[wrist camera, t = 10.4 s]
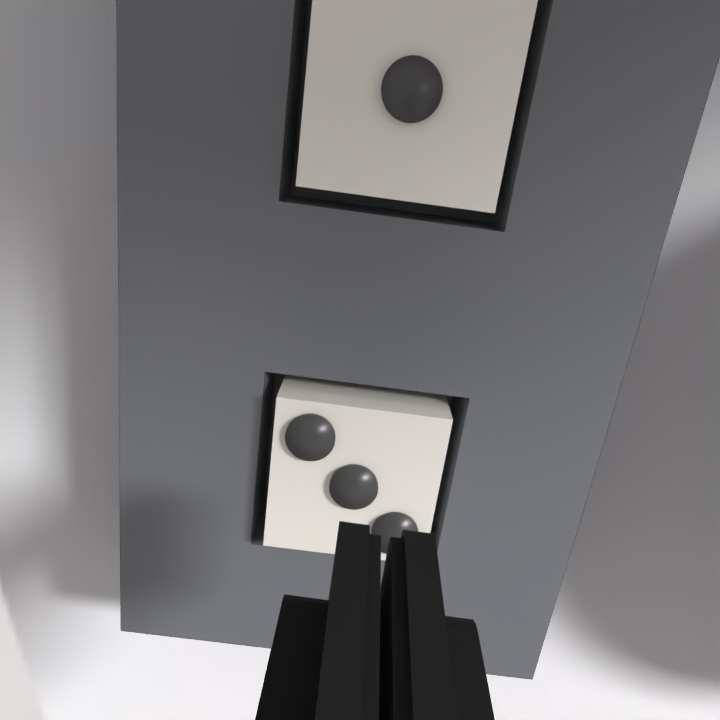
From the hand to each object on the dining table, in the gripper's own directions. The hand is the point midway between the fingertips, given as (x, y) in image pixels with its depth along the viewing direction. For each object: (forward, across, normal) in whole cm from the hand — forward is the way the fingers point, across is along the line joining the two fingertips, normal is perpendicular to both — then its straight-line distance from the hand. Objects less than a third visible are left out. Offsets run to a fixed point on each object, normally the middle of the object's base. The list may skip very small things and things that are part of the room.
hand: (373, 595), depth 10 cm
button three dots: (+7, +1, +1) cm, 7 cm away
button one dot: (+7, +1, -8) cm, 11 cm away
